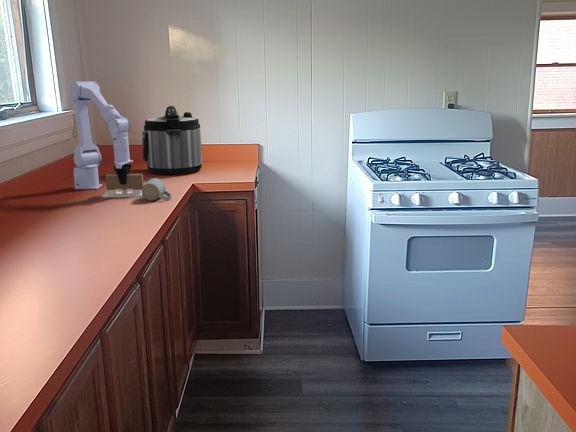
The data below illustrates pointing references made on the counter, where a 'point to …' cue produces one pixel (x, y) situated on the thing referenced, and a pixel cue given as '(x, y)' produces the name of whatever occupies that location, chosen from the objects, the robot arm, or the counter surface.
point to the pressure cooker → (172, 143)
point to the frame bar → (132, 182)
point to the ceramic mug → (155, 190)
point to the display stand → (123, 193)
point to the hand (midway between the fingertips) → (124, 183)
